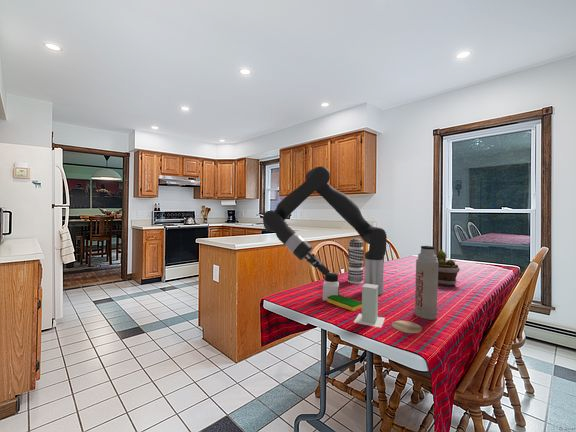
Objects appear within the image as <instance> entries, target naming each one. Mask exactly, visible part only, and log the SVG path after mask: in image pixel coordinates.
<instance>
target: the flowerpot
mask: <svg viewBox="0 0 576 432" xmlns="http://www.w3.org/2000/svg"><path fill="white" fill-rule="evenodd" d="M435 255H436V256H437V261H438V286H443V287H453V286H455V285H456V284H457V277H458V273H459V272H460V267H459V265H458V264H456V261H455V260H454V259H452V257H451V258H449V259H448V256H447V253H446V252H445V251H444V250H443V249H440V250H438V251H437V252H436V253H435Z"/></svg>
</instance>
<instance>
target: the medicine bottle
mask: <svg viewBox="0 0 576 432" xmlns="http://www.w3.org/2000/svg"><path fill="white" fill-rule="evenodd" d="M332 295H340V282H339V275H338V274H337V273H336V272H329V273H328V274H327V275H324V282H323V285H322V301H326V302H327V297H329V296H332Z"/></svg>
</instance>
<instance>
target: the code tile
mask: <svg viewBox="0 0 576 432" xmlns="http://www.w3.org/2000/svg"><path fill="white" fill-rule="evenodd" d="M385 321H386V317H382V316H378V318H377V321H376V323H375V324H374V323H369V322H363V321H362V313H360V312H359V313H358V315H357V316H356V318H355V319H354V320H353V323H355V324H360V325H365V326H370V327H374V328H375V327H376V328H382V327H383V325H384V322H385Z"/></svg>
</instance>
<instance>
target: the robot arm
mask: <svg viewBox="0 0 576 432" xmlns="http://www.w3.org/2000/svg"><path fill="white" fill-rule="evenodd" d="M330 179H331V174H330V170H329V169H328V168H327V167H325V166H322V165H321V166H317V167H314V168H312V169H310V170H309V171H308V172H307V173H306V175H305V181H304V182H303V183H301V184H300V186H298V187H297V188H295V189H294V190H293V191H291V192H290V193H288V194H287V195H286V196H285V197H284V198H283V199H281V201H280V202H278V204H277V205H276V208H275V210H267V211H265V212H264V214H263V215H262V223H263V228H264V230H266V231H268V232H273V233H275V235H276V237H277V239H278V240H279V241H280V242H281V243H282V244H283V245H284V246H286V248H287V249H288V250H289V252H291V253H292V254H293V255H294V256H295V258H297V259H298V260H299V261H303V260H304V259H305V260H306V262H308V264H310V265H311V267H313V268H315V269H317V271H319V272H320V273H321V274H323V275H324V276H325V275H327V274H328V273H331V271H330V270H329V268H328V267H327V266H326V265H324V263H323V262H322V261H321V259H319V257H317V255H316V254H315V253H311V251H312V250H313V246H312V245H311V244H310V243H309V242H307V240H305V239H304V238H303V237H302V236H301V235H300V234H298V233H297V232H296V231H295V230H294V229H293V228H291V227H290V226H289V225H288V224H287V222H286V220H287V218H288V217H289V216H290V215H291V214H292V213H293V212H294V211H295V210H296V209H297V208H298V207H299V206H300V205H301V204H302V203H304V201H306V200H307V199H308V198H309V197H310V196H311V195H313V193H315V192H316V193H317V194H319V195H320V197H321V198H323V199H324V201H326V202H327V204H329V205H330V207H332V209H334V211H335V212H337V213H338V215H339V216H340V217H342V218H343V219H344V221H346V222H347V223H348V225H350V226H351V227H352V228H353V229H354V230H355V232H356V233H357V234H358V235H359V236H360V237H361V240H362V241H363V242H364V243H366V244H367V245H368V246H369V248H368V250H367V251H366V252H364V275H363V277H364V278H363V280H364V281H363V285H364V284H365V283H366V284H373V285H379V287H378V296H380V295H383V294H384V275H385V274H384V269H385V265H384V264H385V255H386V252H387V242H388V241H387V240H388V239H387V238H388V235H387V232H386V230H385V229H383V228H382V227H377V226H374V225H373V226H372V224H370V223H369V222H368V221H367V220H366V219H365V217H364V216H363V215H362V212H361V210H360V208H359V206H358V205H357V204H356V203H355V201H353V200H352V198H351V197H349V195H347V194H346V193H344V192H341V191H339V190H338V189H336V188H334V187H333V186H331V184H329V181H330Z"/></svg>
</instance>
